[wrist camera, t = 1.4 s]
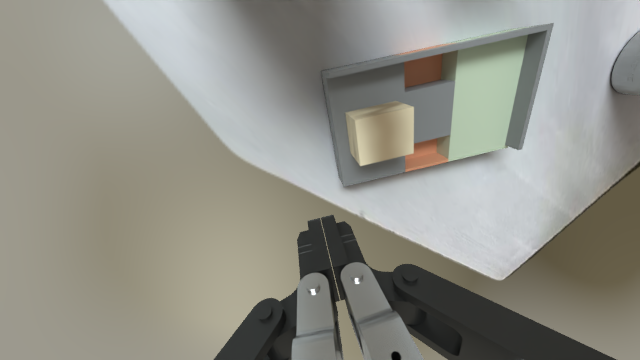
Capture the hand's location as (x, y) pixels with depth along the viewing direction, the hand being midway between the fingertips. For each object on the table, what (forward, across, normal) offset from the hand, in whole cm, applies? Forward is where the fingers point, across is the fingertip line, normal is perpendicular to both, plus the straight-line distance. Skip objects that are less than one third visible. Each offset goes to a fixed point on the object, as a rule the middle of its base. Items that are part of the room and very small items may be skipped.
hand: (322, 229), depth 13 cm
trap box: (+18, -16, 0) cm, 24 cm away
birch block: (+16, -8, 0) cm, 18 cm away
